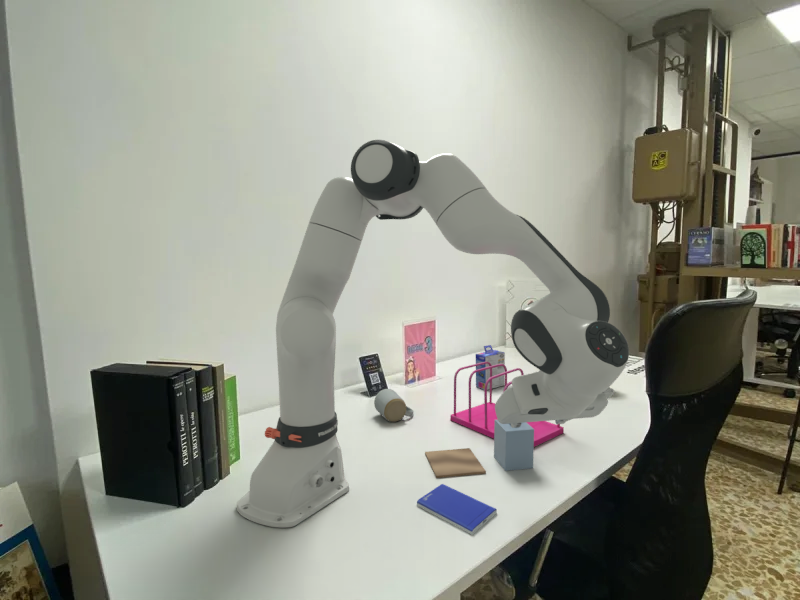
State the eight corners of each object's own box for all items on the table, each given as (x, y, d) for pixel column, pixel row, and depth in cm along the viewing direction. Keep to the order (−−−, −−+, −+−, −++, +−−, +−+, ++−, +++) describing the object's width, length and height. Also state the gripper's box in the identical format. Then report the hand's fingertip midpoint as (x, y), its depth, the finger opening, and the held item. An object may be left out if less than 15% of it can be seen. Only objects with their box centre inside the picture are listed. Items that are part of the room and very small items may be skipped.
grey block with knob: (532, 468, 93) (534, 423, 92) (505, 470, 92) (506, 426, 91) (520, 454, 100) (521, 412, 99) (493, 456, 99) (494, 414, 98)
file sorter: (524, 453, 101) (525, 389, 99) (449, 420, 120) (450, 367, 118) (564, 433, 111) (566, 375, 110) (489, 406, 131) (490, 357, 129)
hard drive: (416, 500, 80) (472, 529, 72) (442, 482, 86) (496, 507, 78) (416, 508, 80) (471, 537, 72) (442, 490, 86) (496, 515, 78)
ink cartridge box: (493, 381, 155) (494, 343, 154) (505, 385, 151) (506, 345, 149) (474, 386, 150) (474, 346, 148) (485, 391, 145) (486, 349, 144)
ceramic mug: (384, 425, 117) (384, 398, 116) (373, 415, 124) (373, 389, 124) (418, 419, 121) (418, 393, 121) (406, 409, 129) (406, 385, 128)
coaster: (485, 473, 91) (485, 471, 91) (436, 478, 90) (436, 475, 90) (469, 450, 102) (469, 448, 102) (425, 453, 100) (425, 451, 100)
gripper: (610, 371, 77) (578, 404, 88) (505, 377, 74) (484, 410, 85) (626, 403, 73) (590, 433, 84) (515, 411, 70) (492, 441, 81)
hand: (536, 422), depth 84 cm, fingers open, 8 cm apart
